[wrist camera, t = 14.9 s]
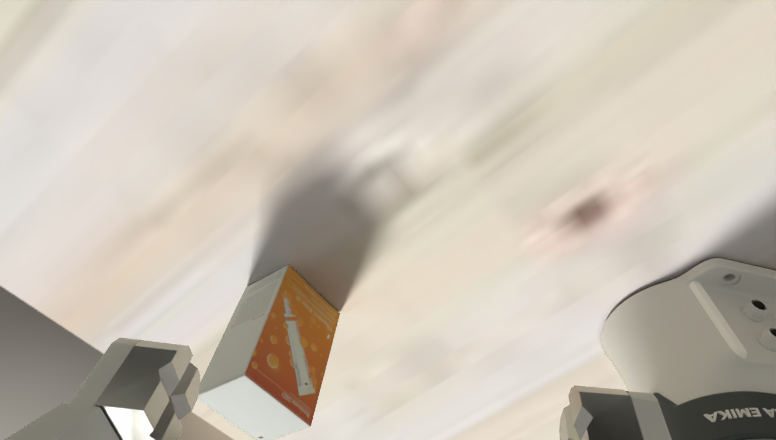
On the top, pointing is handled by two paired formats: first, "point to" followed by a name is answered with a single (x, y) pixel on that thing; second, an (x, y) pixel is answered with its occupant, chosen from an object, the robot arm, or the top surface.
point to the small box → (272, 357)
